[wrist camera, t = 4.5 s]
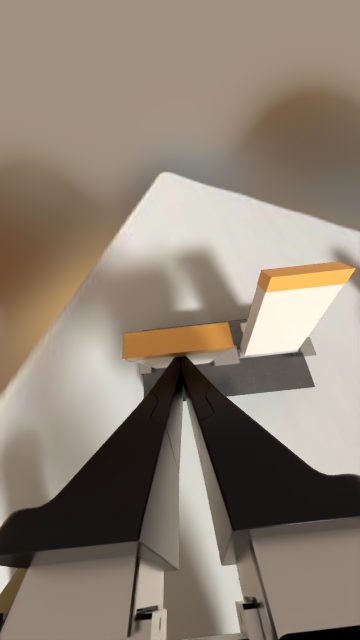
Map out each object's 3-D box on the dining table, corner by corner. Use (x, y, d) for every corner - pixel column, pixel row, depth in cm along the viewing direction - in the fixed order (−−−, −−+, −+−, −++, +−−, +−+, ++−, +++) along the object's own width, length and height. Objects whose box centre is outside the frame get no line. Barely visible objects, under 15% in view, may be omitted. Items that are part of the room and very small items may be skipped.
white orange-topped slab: (297, 355, 17) (360, 267, 10) (240, 361, 17) (266, 278, 10) (289, 346, 18) (341, 261, 11) (236, 351, 18) (257, 270, 11)
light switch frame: (296, 383, 20) (329, 389, 15) (150, 399, 20) (139, 409, 15) (275, 321, 22) (298, 309, 18) (147, 335, 22) (138, 327, 18)
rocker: (210, 363, 17) (239, 345, 8) (155, 369, 17) (116, 359, 8) (208, 352, 18) (233, 321, 8) (155, 357, 18) (118, 334, 8)
